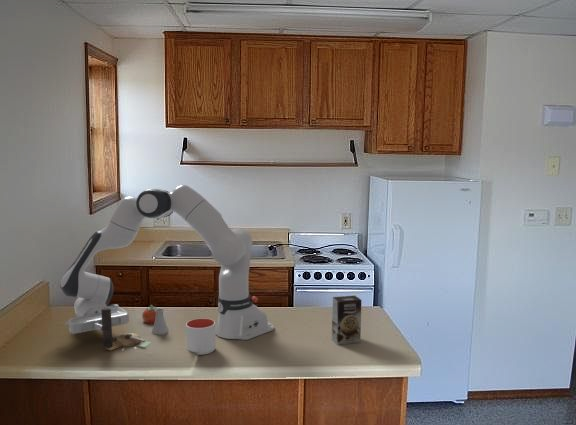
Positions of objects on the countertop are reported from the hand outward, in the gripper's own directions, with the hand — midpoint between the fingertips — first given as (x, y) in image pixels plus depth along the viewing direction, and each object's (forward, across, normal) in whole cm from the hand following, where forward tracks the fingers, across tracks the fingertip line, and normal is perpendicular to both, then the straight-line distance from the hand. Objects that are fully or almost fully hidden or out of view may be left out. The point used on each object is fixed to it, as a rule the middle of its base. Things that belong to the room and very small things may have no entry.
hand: (105, 328), depth 181 cm
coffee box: (+38, +76, +8) cm, 85 cm away
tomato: (-18, +23, +9) cm, 31 cm away
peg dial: (+1, +6, +7) cm, 10 cm away
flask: (-5, +22, +9) cm, 24 cm away
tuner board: (-3, +7, +9) cm, 11 cm away
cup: (+16, +28, +9) cm, 34 cm away
